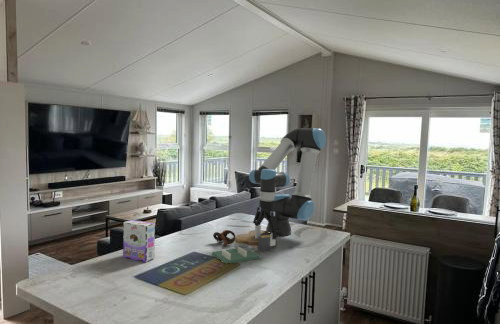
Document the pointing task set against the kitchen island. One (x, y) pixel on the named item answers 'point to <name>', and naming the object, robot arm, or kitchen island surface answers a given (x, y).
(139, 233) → the candy box
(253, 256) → the header board
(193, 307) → the kitchen island surface
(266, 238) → the plug
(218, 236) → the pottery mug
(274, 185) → the robot arm
